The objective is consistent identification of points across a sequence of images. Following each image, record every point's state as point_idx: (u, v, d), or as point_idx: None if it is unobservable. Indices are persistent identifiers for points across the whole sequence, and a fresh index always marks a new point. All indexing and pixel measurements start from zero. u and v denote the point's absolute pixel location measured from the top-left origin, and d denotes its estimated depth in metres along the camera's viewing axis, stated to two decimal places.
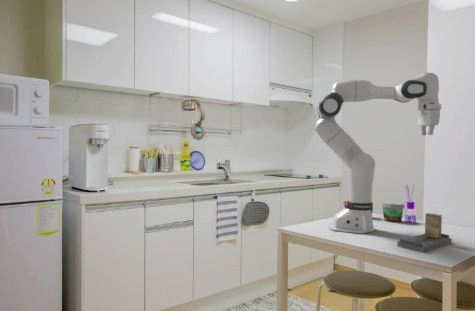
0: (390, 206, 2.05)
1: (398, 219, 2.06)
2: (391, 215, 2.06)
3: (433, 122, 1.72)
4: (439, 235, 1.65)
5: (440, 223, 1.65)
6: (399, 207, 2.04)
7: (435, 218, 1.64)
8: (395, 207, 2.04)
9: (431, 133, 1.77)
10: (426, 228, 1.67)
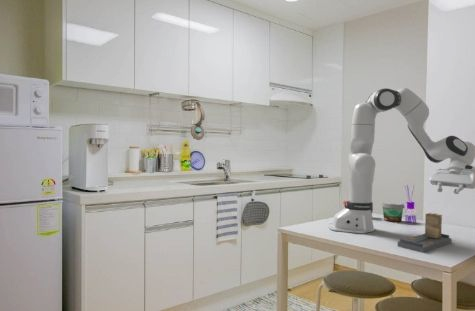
0: (390, 206, 2.05)
1: (398, 219, 2.06)
2: (391, 215, 2.06)
3: (474, 183, 1.67)
4: (439, 235, 1.65)
5: (440, 223, 1.65)
6: (399, 207, 2.04)
7: (435, 218, 1.64)
8: (395, 207, 2.04)
9: (458, 192, 1.70)
10: (426, 228, 1.67)
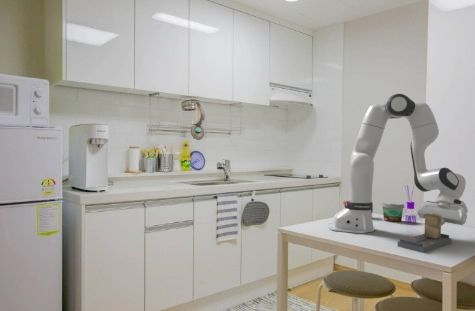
0: (390, 206, 2.05)
1: (398, 219, 2.06)
2: (391, 215, 2.06)
3: (463, 220, 1.62)
4: (438, 235, 1.65)
5: (439, 223, 1.65)
6: (399, 207, 2.04)
7: (435, 218, 1.63)
8: (395, 207, 2.04)
9: None
10: (425, 228, 1.67)
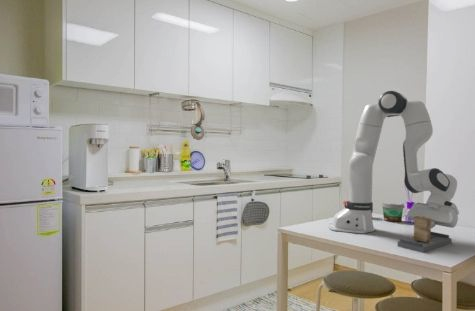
0: (390, 206, 2.05)
1: (398, 219, 2.06)
2: (391, 215, 2.06)
3: (453, 222, 1.56)
4: (428, 238, 1.59)
5: (429, 226, 1.59)
6: (399, 207, 2.04)
7: (424, 221, 1.58)
8: (395, 207, 2.04)
9: None
10: (415, 231, 1.61)
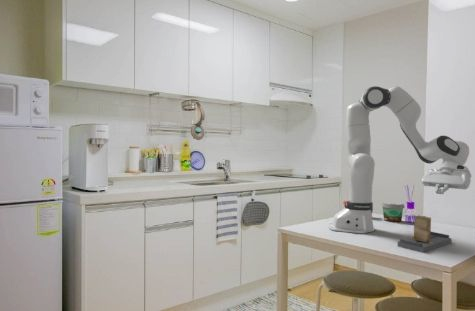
0: (390, 206, 2.05)
1: (398, 219, 2.06)
2: (391, 215, 2.06)
3: (466, 184, 1.64)
4: (428, 238, 1.59)
5: (429, 226, 1.59)
6: (399, 207, 2.04)
7: (424, 221, 1.58)
8: (395, 207, 2.04)
9: (443, 192, 1.69)
10: (415, 231, 1.61)
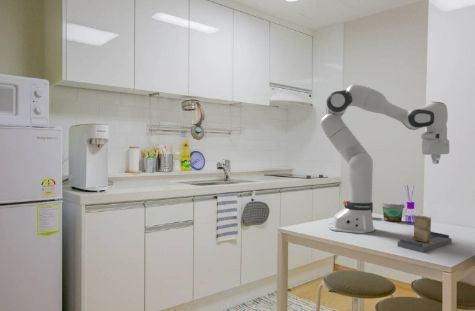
0: (390, 206, 2.05)
1: (398, 219, 2.06)
2: (391, 215, 2.06)
3: (423, 151, 1.77)
4: (428, 238, 1.59)
5: (429, 226, 1.59)
6: (399, 207, 2.04)
7: (424, 221, 1.58)
8: (395, 207, 2.04)
9: (434, 162, 1.81)
10: (415, 231, 1.61)
